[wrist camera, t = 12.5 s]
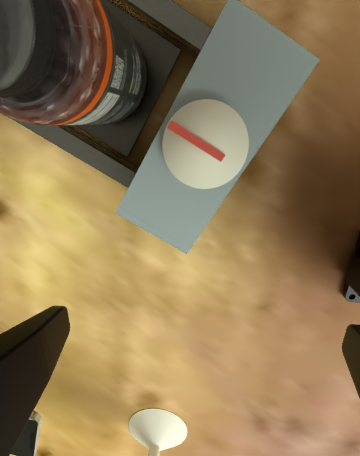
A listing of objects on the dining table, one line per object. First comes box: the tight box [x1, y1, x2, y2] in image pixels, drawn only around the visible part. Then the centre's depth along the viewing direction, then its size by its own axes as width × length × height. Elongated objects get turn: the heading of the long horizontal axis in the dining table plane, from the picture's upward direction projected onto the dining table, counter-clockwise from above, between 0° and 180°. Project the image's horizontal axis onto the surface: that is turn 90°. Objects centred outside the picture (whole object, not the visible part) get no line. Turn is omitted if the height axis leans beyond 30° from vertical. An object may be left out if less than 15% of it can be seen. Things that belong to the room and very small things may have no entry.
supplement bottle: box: [0, 0, 146, 126], centre depth 12 cm, size 6×6×11 cm
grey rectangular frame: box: [13, 0, 212, 187], centre depth 17 cm, size 20×11×2 cm, turn 59°
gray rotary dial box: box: [116, 0, 320, 254], centre depth 16 cm, size 5×12×6 cm, turn 149°
